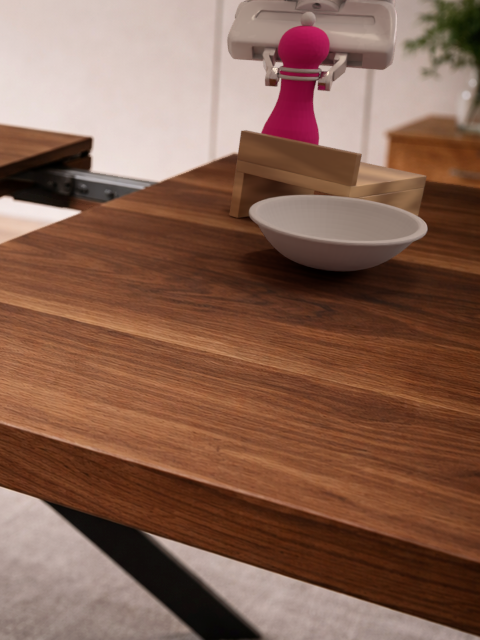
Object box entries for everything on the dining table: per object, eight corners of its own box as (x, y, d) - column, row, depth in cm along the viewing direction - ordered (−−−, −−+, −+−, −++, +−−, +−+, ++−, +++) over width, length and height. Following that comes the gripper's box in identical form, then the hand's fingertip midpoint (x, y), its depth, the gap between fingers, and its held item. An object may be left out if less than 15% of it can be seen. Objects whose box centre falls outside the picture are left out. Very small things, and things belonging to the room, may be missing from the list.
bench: (303, 204, 108) (316, 124, 105) (414, 234, 97) (433, 145, 94) (229, 215, 102) (240, 130, 99) (339, 248, 91) (356, 154, 88)
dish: (405, 316, 73) (418, 254, 71) (219, 283, 79) (227, 225, 78) (423, 261, 88) (434, 208, 86) (265, 237, 94) (272, 187, 92)
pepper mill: (273, 182, 119) (299, 13, 111) (244, 170, 125) (267, 9, 118) (324, 181, 121) (353, 14, 113) (293, 169, 127) (318, 11, 120)
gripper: (239, -22, 124) (211, 61, 120) (409, -15, 116) (385, 74, 111) (242, 14, 130) (215, 94, 125) (404, 22, 121) (382, 109, 117)
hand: (297, 85), depth 118 cm, fingers closed on pepper mill, 5 cm apart
